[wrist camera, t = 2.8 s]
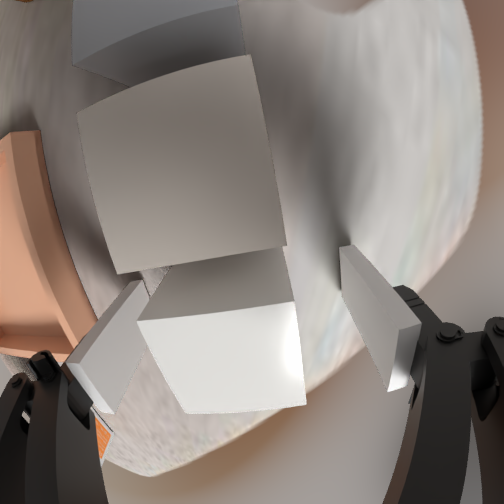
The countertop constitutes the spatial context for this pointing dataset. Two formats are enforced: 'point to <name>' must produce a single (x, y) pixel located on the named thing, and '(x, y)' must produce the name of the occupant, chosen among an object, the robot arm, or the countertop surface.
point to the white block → (227, 334)
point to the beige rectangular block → (183, 168)
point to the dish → (35, 259)
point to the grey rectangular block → (153, 36)
